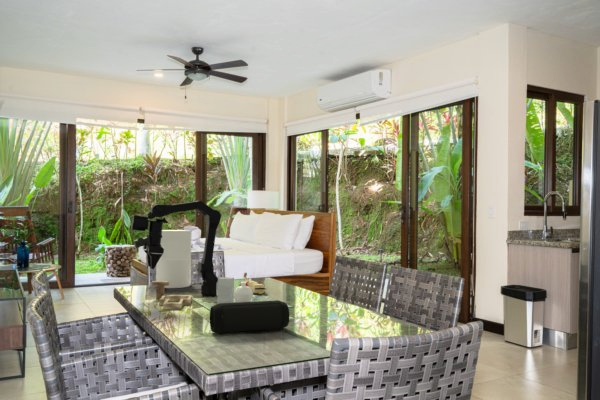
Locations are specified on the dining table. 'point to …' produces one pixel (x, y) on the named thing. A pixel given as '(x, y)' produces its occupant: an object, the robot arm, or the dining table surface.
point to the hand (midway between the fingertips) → (150, 267)
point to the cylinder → (175, 259)
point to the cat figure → (254, 285)
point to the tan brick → (160, 287)
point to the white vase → (243, 293)
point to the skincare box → (225, 290)
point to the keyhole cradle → (181, 298)
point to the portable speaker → (249, 317)
